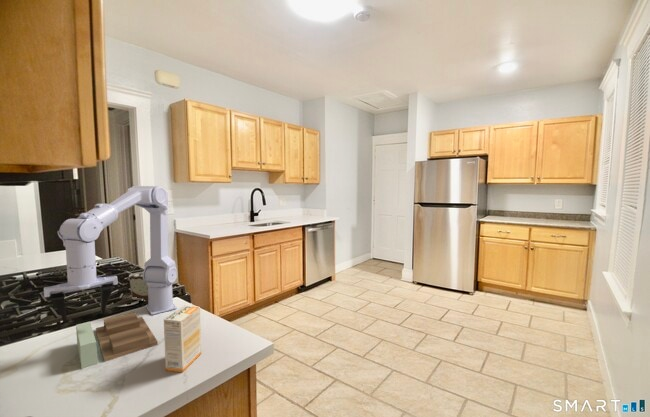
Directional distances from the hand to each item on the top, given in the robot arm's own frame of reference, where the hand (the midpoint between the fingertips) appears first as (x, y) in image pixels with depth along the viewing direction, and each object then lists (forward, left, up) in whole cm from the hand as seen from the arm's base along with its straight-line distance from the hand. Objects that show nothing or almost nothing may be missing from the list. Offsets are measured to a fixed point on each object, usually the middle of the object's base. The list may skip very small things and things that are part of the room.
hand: (84, 316), depth 77 cm
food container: (-31, +21, -10) cm, 39 cm away
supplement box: (+20, +18, -10) cm, 29 cm away
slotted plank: (-3, +9, -10) cm, 14 cm away
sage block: (0, 0, -10) cm, 10 cm away
